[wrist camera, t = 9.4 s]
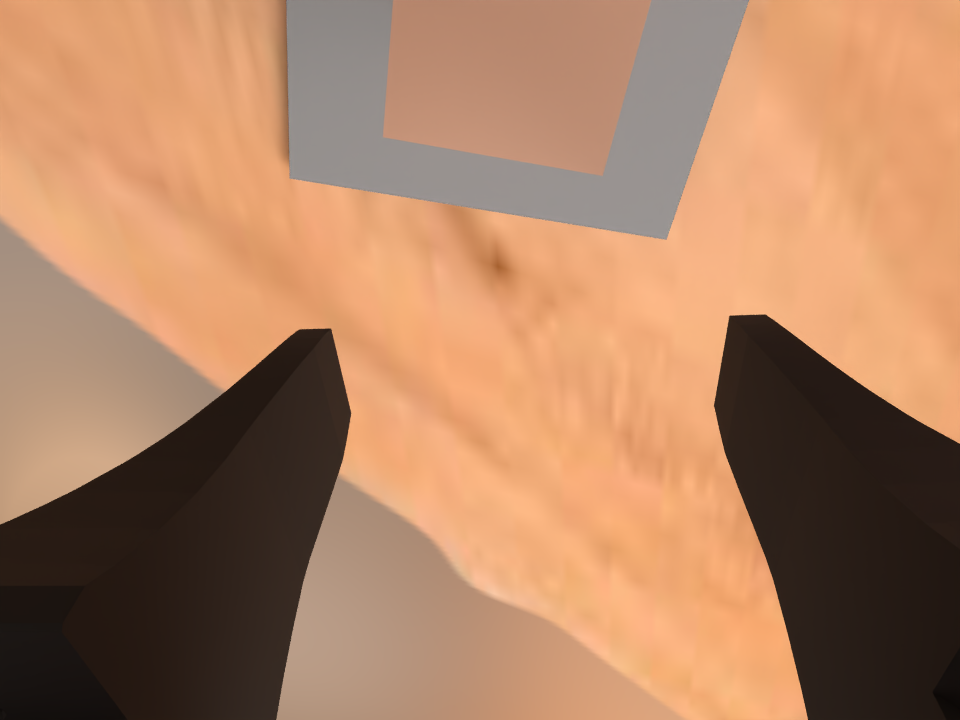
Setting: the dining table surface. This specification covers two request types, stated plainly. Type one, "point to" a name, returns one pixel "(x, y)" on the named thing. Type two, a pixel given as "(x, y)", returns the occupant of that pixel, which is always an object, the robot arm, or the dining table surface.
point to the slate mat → (491, 180)
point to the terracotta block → (513, 77)
